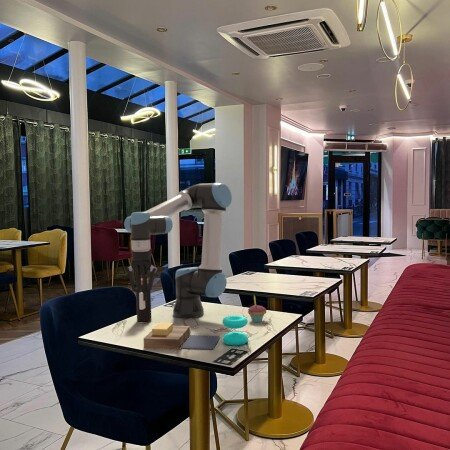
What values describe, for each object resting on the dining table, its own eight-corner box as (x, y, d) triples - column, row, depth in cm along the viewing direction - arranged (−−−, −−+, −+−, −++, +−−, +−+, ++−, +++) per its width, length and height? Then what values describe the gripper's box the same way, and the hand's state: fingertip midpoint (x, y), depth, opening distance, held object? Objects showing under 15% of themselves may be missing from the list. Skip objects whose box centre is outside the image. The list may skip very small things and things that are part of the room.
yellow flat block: (159, 328, 191) (158, 322, 191) (173, 328, 190) (172, 323, 190) (152, 334, 182) (152, 329, 182) (166, 335, 181) (166, 329, 181)
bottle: (153, 319, 220) (152, 278, 219) (147, 323, 213) (146, 280, 212) (140, 318, 222) (139, 277, 221) (134, 322, 215) (132, 280, 214)
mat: (190, 336, 193) (190, 335, 192) (220, 337, 191) (220, 335, 190) (181, 348, 177) (180, 347, 177) (213, 349, 175) (212, 348, 175)
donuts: (242, 322, 176) (218, 320, 180) (243, 347, 177) (219, 345, 180) (250, 315, 185) (227, 313, 189) (251, 339, 186) (228, 337, 190)
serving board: (157, 334, 196) (157, 325, 196) (190, 335, 194) (189, 326, 193) (143, 348, 178) (143, 338, 178) (179, 349, 176) (178, 339, 176)
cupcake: (244, 320, 215) (243, 295, 214) (258, 317, 220) (257, 292, 219) (256, 324, 208) (255, 298, 207) (270, 320, 213) (269, 295, 212)
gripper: (122, 251, 182) (123, 310, 184) (153, 251, 180) (155, 311, 182) (129, 249, 190) (130, 306, 191) (159, 249, 188) (160, 306, 189)
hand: (142, 308), depth 186 cm, fingers closed
